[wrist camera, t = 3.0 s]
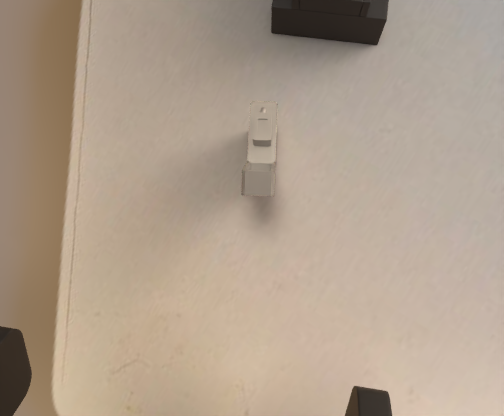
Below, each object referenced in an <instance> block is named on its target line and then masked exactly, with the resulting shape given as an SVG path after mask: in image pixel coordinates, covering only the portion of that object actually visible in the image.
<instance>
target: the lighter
mask: <svg viewBox="0 0 504 416" xmlns="http://www.w3.org/2000/svg"><path fill="white" fill-rule="evenodd" d="M277 108H278V104H277V103H276V102H270V101H252V102H251V103H250V116H249V134H248V152H247V163H246V165H245V166H244V168H243V170H242V195H245V196H270V197H271V196H274V183H275V158H276V133H277Z"/></svg>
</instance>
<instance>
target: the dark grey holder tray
mask: <svg viewBox="0 0 504 416" xmlns="http://www.w3.org/2000/svg"><path fill="white" fill-rule="evenodd" d="M388 1H389V0H273V2H272V33H278V34H287V35H296V36H305V37H313V38H322V39H331V40H340V41H349V42H357V43H366V44H375V45H377V44H378V41H379V38H380V36H381V33H382V31H383V28H384V25H385V23H386V20H387V12H388Z"/></svg>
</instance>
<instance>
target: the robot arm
mask: <svg viewBox="0 0 504 416" xmlns="http://www.w3.org/2000/svg"><path fill="white" fill-rule="evenodd" d="M31 375H32V373H31V367H30V363H29V359H28V355H27V351H26V347H25V343H24V338H23V335H22V333H21V331H20V330H18V329H12V328H6V327H1V326H0V416H13V414H14V413H15V411H16V410H17V408H18V407H19V405H20V404H21V402H22V401H23V399H24V397H25V396H26V394H27V391H28V389H29V386H30V382H31ZM345 416H392V411H391V404H390V397H389V394H388V392H387V391H383V390H377V389H371V388H365V387H358V386H354V387H353V390H352V393H351V396H350V400H349V403H348V407H347V410H346V414H345Z"/></svg>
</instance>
